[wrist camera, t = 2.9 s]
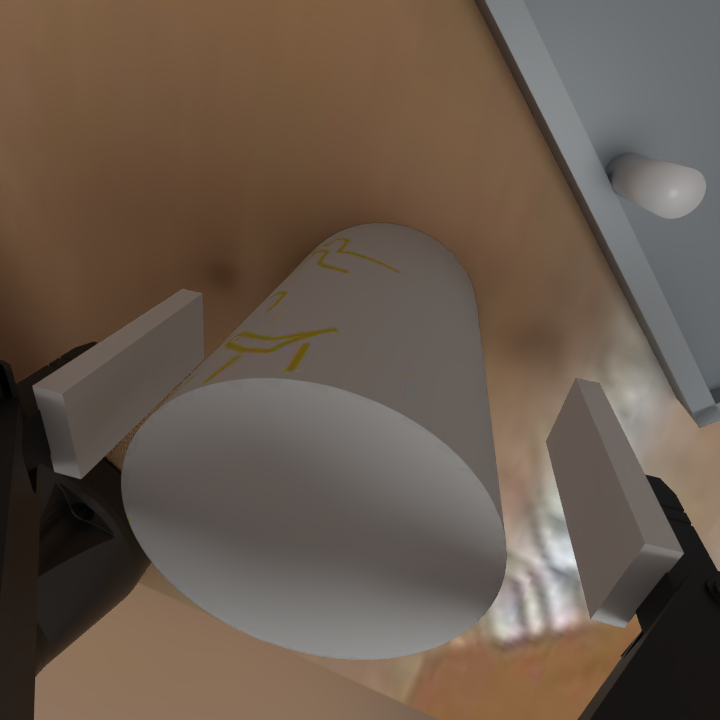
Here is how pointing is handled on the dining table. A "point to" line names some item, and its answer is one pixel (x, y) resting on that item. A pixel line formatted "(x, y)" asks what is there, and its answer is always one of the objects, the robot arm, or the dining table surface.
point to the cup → (334, 459)
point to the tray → (637, 156)
